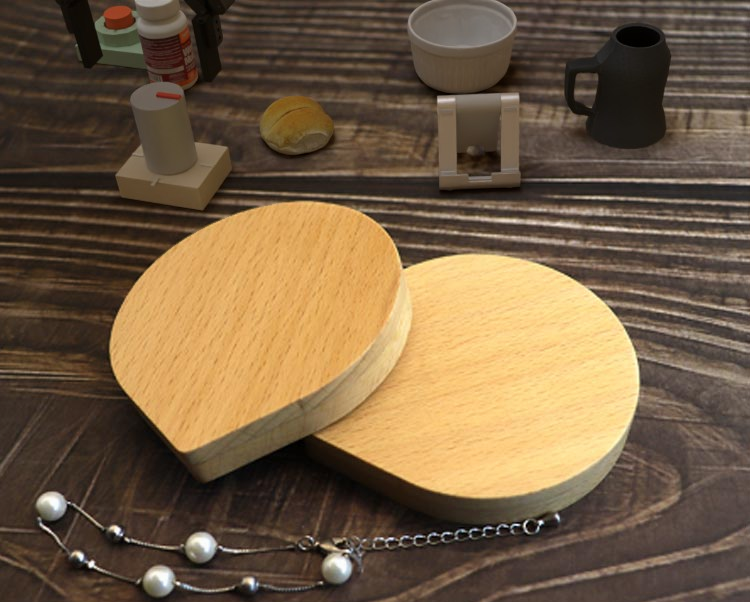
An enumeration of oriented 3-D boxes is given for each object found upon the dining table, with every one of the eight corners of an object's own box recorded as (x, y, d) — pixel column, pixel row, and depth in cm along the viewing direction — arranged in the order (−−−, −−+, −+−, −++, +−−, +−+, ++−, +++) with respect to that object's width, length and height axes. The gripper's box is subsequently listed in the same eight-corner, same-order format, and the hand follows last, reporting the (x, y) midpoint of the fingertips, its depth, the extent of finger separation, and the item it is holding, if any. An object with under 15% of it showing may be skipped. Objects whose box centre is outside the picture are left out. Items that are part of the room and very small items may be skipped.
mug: (654, 101, 120) (668, 11, 112) (675, 144, 114) (693, 52, 105) (553, 110, 120) (560, 20, 112) (569, 154, 113) (578, 62, 105)
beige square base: (117, 202, 112) (110, 178, 110) (157, 153, 118) (151, 129, 116) (199, 215, 109) (194, 191, 107) (235, 164, 116) (231, 140, 113)
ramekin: (536, 67, 127) (540, 15, 122) (468, 113, 120) (469, 59, 115) (455, 35, 133) (455, -16, 128) (386, 77, 127) (384, 25, 122)
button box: (79, 61, 134) (70, 32, 131) (108, 32, 139) (100, 4, 136) (146, 69, 132) (139, 40, 129) (173, 39, 137) (167, 11, 134)
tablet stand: (439, 194, 110) (439, 126, 104) (437, 152, 115) (436, 86, 109) (519, 190, 109) (524, 123, 103) (513, 149, 115) (517, 82, 109)
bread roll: (314, 108, 123) (311, 78, 120) (343, 145, 117) (340, 114, 114) (250, 126, 121) (245, 96, 118) (276, 164, 115) (271, 134, 112)
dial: (137, 171, 110) (119, 103, 104) (160, 142, 114) (144, 76, 108) (184, 178, 109) (168, 110, 103) (205, 149, 113) (192, 82, 107)
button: (101, 29, 132) (98, 17, 131) (114, 17, 135) (111, 4, 133) (126, 32, 131) (123, 20, 130) (139, 19, 134) (136, 7, 132)
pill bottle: (201, 89, 127) (184, 3, 119) (152, 98, 127) (132, 11, 118) (196, 65, 132) (179, -19, 123) (148, 73, 131) (128, -11, 123)
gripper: (246, -163, 87) (279, 62, 103) (-1, -175, 94) (64, 39, 109) (210, -130, 83) (250, 101, 98) (-48, -145, 89) (27, 74, 104)
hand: (152, 69), depth 103 cm, fingers open, 13 cm apart
